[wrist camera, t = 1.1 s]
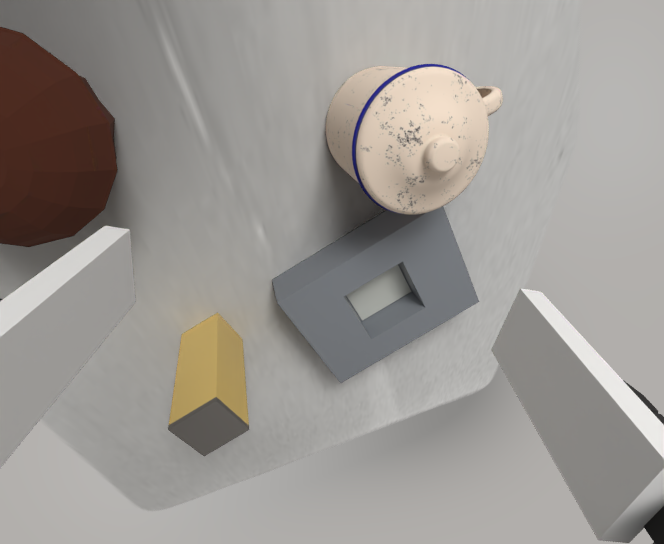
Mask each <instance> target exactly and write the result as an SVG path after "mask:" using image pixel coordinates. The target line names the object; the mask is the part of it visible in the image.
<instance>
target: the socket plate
mask: <svg viewBox="0 0 664 544" xmlns="http://www.w3.org/2000/svg"><path fill="white" fill-rule="evenodd" d="M272 282H273V286H274V291H275V295H276V300H277V303H278V305H279V306H280V307H281V308H282V310H283V311H284V312H285V313H286V315H287V316H288V317H289V318H290V320H291V321H292V322H293V324H294V325H295V326H296V327H297V329H298V330H299V331H300V332H301V334H302V335H303V336H304V337H305V339H306V340H307V341H308V342H309V344H310V345H311V346H312V348H313V349H314V350H315V351H316V353H317V354H318V355H319V356H320V358H321V359H322V360H323V361H324V363H325V364H326V365H327V367H328V368H329V369H330V370H331V372H332V373H333V374H334V375H335V377H336V378H337V379H338V380H339V382H340V383H342V382H343V381H345V380H347V379H349V378H350V377H352V376H354V375H355V374H357V373H359V372H360V371H362V370H364V369H366V368H367V367H369V366H371V365H372V364H374V363H376V362H377V361H379V360H381V359H383V358H384V357H386V356H388V355H389V354H391V353H393V352H394V351H396V350H398V349H400V348H401V347H403V346H405V345H406V344H408V343H410V342H411V341H413V340H415V339H417V338H418V337H420V336H422V335H423V334H425V333H427V332H428V331H430V330H432V329H434V328H435V327H437V326H439V325H440V324H442V323H444V322H445V321H447V320H449V319H450V318H452V317H454V316H456V315H457V314H459V313H461V312H462V311H464V310H466V309H467V308H469V307H471V306H473V305H474V304H476V303H478V302H479V300H478V298H477V295H476V292H475V290H474V287H473V284H472V282H471V279H470V276H469V274H468V271H467V268H466V266H465V263H464V261H463V258H462V255H461V253H460V250H459V247H458V245H457V242H456V239H455V237H454V234H453V231H452V229H451V226H450V224H449V221H448V218H447V216H446V213H445V210H444V208H443V206H442V207H440V208H438V209H436V210H433V211H430V212H427V213H422V214H412V215H409V214H399V213H394V212H391V211H388V210H386V211H385V212H383V213H381V214H380V215H378V216H376V217H375V218H373V219H371V220H370V221H368V222H366V223H365V224H363V225H361V226H360V227H358V228H357V229H355V230H353V231H352V232H350V233H348V234H347V235H345V236H343V237H342V238H340V239H338V240H337V241H335V242H333V243H332V244H330V245H329V246H327V247H325V248H324V249H322V250H320V251H319V252H317V253H315V254H314V255H312V256H310V257H309V258H307V259H305V260H304V261H302V262H300V263H299V264H297V265H296V266H294V267H292V268H291V269H289V270H287V271H286V272H284V273H282V274H281V275H279V276H277V277H276V278H274V279H272Z"/></svg>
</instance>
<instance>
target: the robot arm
mask: <svg viewBox="0 0 664 544" xmlns="http://www.w3.org/2000/svg"><path fill="white" fill-rule="evenodd" d="M135 302H136V296H135V284H134V273H133V261H132V249H131V237H130V229H124V228H117V227H110V226H104V227H102V228H101V229H100V230H98V231H97V232H95V233H94V234H93V235H91V236H90V237H89V238H87V239H86V240H84V241H83V242H82V243H80V244H79V245H77V246H76V247H75V248H73V249H72V250H71V251H69V252H68V253H66V254H65V255H64V256H62V257H61V258H59V259H58V260H57V261H55V262H54V263H53V264H51V265H50V266H48V267H47V268H46V269H44V270H43V271H42V272H40V273H39V274H37V275H36V276H35V277H33V278H32V279H30V280H29V281H28V282H26V283H25V284H24V285H22V286H21V287H19V288H18V289H17V290H15V291H14V292H12V293H11V294H10V295H8V296H7V297H6V298H4V299H0V468H1V467H2V466H3V464H4V463H5V462H6V461H7V459H8V458H9V457H10V456H11V454H12V453H13V452H14V451H15V449H16V448H17V447H18V446H19V445H20V443H21V442H22V441H23V440H24V438H25V437H26V436H27V435H28V434H29V432H30V431H31V430H32V429H33V427H34V426H35V425H36V424H37V423H38V421H39V420H40V419H41V418H42V416H43V415H44V414H45V413H46V411H47V410H48V409H49V408H50V407H51V405H52V404H53V403H54V402H55V400H56V399H57V398H58V397H59V396H60V394H61V393H62V392H63V391H64V389H65V388H66V387H67V386H68V384H69V383H70V382H71V381H72V380H73V378H74V377H75V376H76V375H77V373H78V372H79V371H80V370H81V368H82V367H83V366H84V365H85V364H86V362H87V361H88V360H89V359H90V357H91V356H92V355H93V354H94V352H95V351H96V350H97V349H98V348H99V346H100V345H101V344H102V343H103V341H104V340H105V339H106V338H107V337H108V335H109V334H110V333H111V332H112V330H113V329H114V328H115V327H116V325H117V324H118V323H119V322H120V321H121V319H122V318H123V317H124V316H125V314H126V313H127V312H128V311H129V309H130V308H131V307H132V306H133V305H134V303H135ZM492 352H493V354H494V356H495V357H496V359H497V361H498V363H499V365H500V366H501V368H502V370H503V372H504V373H505V375H506V377H507V379H508V381H509V382H510V384H511V386H512V388H513V389H514V391H515V393H516V395H517V397H518V398H519V400H520V402H521V404H522V406H523V407H524V409H525V411H526V412H527V414H528V416H529V418H530V420H531V422H532V423H533V425H534V427H535V429H536V430H537V432H538V434H539V436H540V437H541V439H542V441H543V443H544V445H545V446H546V448H547V450H548V452H549V453H550V455H551V457H552V459H553V461H554V462H555V464H556V466H557V468H558V469H559V471H560V473H561V475H562V477H563V479H564V480H565V482H566V484H567V485H568V487H569V489H570V491H571V492H572V495H573V496H574V498H575V500H576V502H577V503H578V505H579V507H580V509H581V510H582V512H583V514H584V516H585V517H586V519H587V521H588V523H589V525H590V526H591V528H592V530H593V532H594V534H595V535H596V537H597V539H598V540H603V541H613V542H623V543H629V542H630V541H631V540H632V539H633V538H634V537H635V536H636V535H637V534H638V533H639V532H640V531H641V530H642V529H643V528H645V529H646V531H647V532H648V534H649V535H650V537H651V538H652V540H654V543H653V544H664V417H663V416H662V415H661V414H658V410H657V409H656V408H655V407H654V406H653V405H652V404H651V403H650V402H649V401H648V400H647V399H646V398H645V397H644V395H642V394H641V393H640V392H638V391H637V390H636V389H634V388H633V387H632V386H630V385H629V384H628V383H626V382H625V381H623V380H622V379H621V378H620V377H619V376H618V375H617V374H616V373H615V371H614V370H613V369H612V368H611V367H610V366H609V365H608V364H607V363H606V362H605V361H604V360H603V358H602V357H601V356H600V355H599V354H598V353H597V352H596V351H595V350H594V349H593V348H592V347H591V345H590V344H589V343H588V342H587V341H586V340H585V339H584V338H583V337H582V336H581V335H580V334H579V332H578V331H577V330H576V329H575V328H574V327H573V326H572V325H571V324H570V323H569V322H568V321H567V319H566V318H565V317H564V316H563V315H562V314H561V313H560V312H559V311H558V310H557V309H556V308H555V306H554V305H553V304H552V303H551V302H550V301H549V300H548V299H547V298H546V297H545V296H544V294H542V292H540V291H533V290H527V289H520V290H519V292H518V294H517V296H516V299H515V301H514V303H513V305H512V307H511V309H510V311H509V313H508V316H507V318H506V320H505V322H504V324H503V326H502V328H501V330H500V333H499V335H498V337H497V339H496V341H495V343H494V345H493V347H492Z"/></svg>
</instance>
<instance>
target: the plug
mask: <svg viewBox="0 0 664 544" xmlns="http://www.w3.org/2000/svg"><path fill="white" fill-rule="evenodd" d="M168 430H169V431H170V432H172V433H173V434H175V435H176V436H177V437H179V438H180V439H181V440H183V441H184V442H185V443H187V444H188V445H190V446H191V447H192V448H194V449H195V450H196V451H198V452H199V453H200V454H202V455H203V456H206V455H207V454H209V453H211V452H212V451H214V450H216V449H217V448H219V447H221V446H222V445H224V444H226V443H228V442H229V441H231V440H233V439H234V438H236V437H238V436H239V435H241V434H243V433H244V432H246V431H248V430H249V422H248V409H247V395H246V382H245V368H244V355H243V341H242V338H241V337H240V336H239V335H238V334H237V333H236V332H235V331H234V330H233V329H232V328H231V326H230V325H229V324H228V323H227V322H226V321H225V320H224V319H223V318H222V317H221V316H220V315H219V314H218V313H216V314H214V315H213V316H211V317H210V318H208V319H206V320H205V321H203V322H201V323H200V324H198V325H196V326H195V327H193V328H191V329H190V330H188V331H186V332H185V333H183V334H182V336H181V343H180V350H179V357H178V364H177V371H176V378H175V385H174V392H173V399H172V406H171V413H170V420H169V427H168Z"/></svg>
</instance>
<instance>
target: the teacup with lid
mask: <svg viewBox="0 0 664 544" xmlns="http://www.w3.org/2000/svg"><path fill="white" fill-rule="evenodd" d="M502 102H503V98H502V92H501V90H500V89H499V88H497V87H493V86H482V87H475V86H474V85H473V84H472V83H471V82H470V81H469V79H467V78H466V77H465V76H464V75H463V74H461V73H460V72H458V71H456V70H454V69H452V68H449V67H447V66H443V65H437V64H423V65H417V66H413V67H410V68H406V67H387V66H377V67H371V68H367V69H365V70H362V71H360V72H358V73H356V74H355V75H353V76H352V77H350V78H349V79H348V80H347V81H346V82H345V83H344V84H343V85H342V86H341V87H340V88H339V90H338V91H337V93H336V94H335V96H334V98H333V100H332V102H331V104H330V107H329V110H328V114H327V119H326V137H327V142H328V146H329V149H330V151H331V154H332V155H333V157H334V159H335V160H336V162H337V163H338V164H339V165H340V167H342V168H343V169H344V170H345V171H346V172H347V173H348V174H349V175H350V176H351V177H352V178H354V179H355V180H356V181H357V182H358V183H359V184H360V186H361V188H362V189H363V191H364V192H365V193H366V195H367V196H368V197H369V198H370V199H371V200H372V201H373V202H374V203H376V204H377V205H378V206H380V207H382V208H384V209H386V210H388V211H391V212H394V213H399V214H409V215H412V214H422V213H427V212H430V211H433V210H436V209H438V208H440V207H442V206H444V205H446V204H447V203H449V202H451V201H452V200H453V199H455V198H456V197H457V196H458V195H459V194H461V193H462V192H463V191H464V189H465V188H466V187H467V186H468V185H469V184H470V182H471V181H472V180H473V178H474V177H475V175H476V173H477V172H478V170H479V168H480V166H481V163H482V161H483V158H484V155H485V152H486V148H487V143H488V135H489V124H488V116H489V115H491V114H493V113H494V112H495V111H497V110H498V109H499V108H500V106H501V105H502Z"/></svg>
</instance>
